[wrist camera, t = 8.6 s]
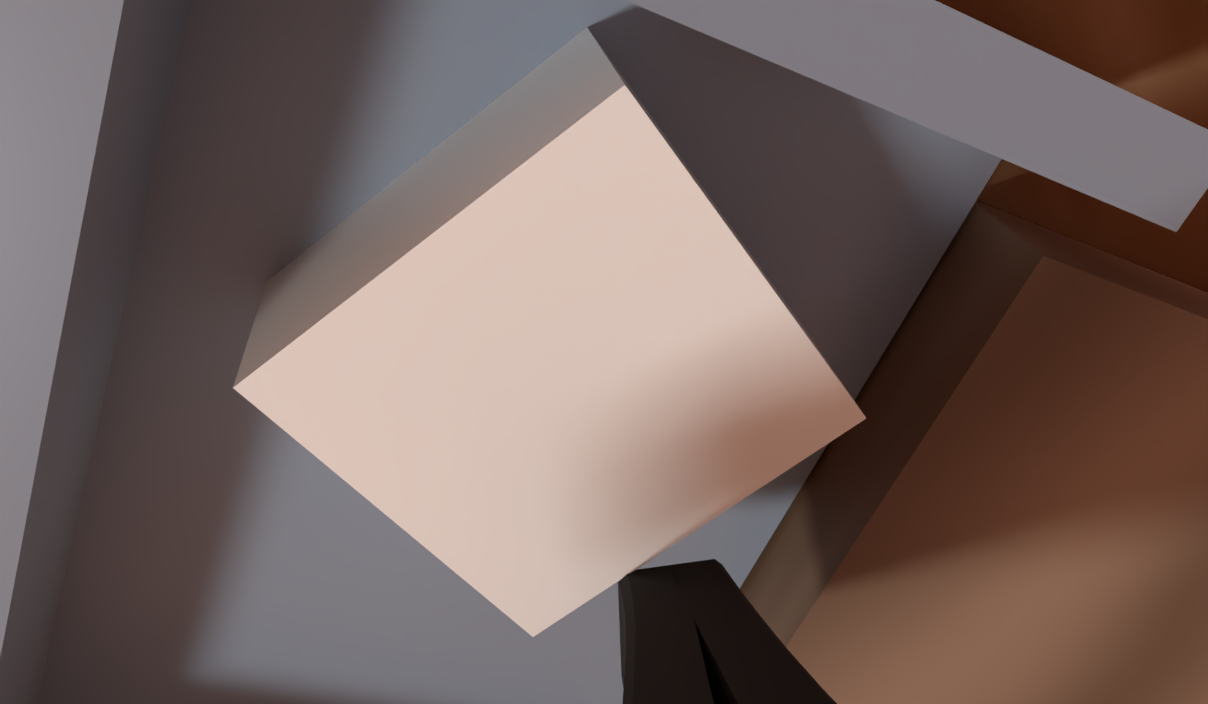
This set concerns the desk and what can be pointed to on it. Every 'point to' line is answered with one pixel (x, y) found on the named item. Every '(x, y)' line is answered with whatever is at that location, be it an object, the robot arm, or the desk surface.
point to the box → (336, 190)
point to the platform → (1011, 491)
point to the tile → (543, 347)
